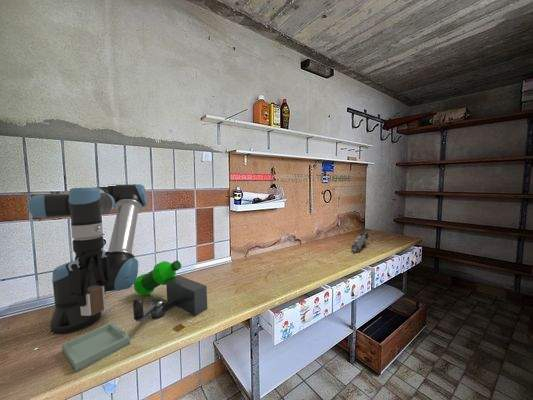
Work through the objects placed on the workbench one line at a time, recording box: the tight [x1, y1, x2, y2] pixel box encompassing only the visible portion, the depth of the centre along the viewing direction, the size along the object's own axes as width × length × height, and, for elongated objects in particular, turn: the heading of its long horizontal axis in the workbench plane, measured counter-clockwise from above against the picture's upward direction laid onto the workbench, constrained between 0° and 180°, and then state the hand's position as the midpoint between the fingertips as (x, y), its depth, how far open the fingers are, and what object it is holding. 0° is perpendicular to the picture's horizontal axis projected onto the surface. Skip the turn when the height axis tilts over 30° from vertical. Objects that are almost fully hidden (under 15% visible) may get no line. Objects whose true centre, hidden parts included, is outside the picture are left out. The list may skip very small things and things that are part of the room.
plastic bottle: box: [133, 260, 182, 296], centre depth 107 cm, size 10×10×25 cm
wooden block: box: [87, 285, 105, 316], centre depth 72 cm, size 4×4×8 cm
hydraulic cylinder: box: [351, 231, 371, 253], centre depth 178 cm, size 7×37×10 cm, turn 144°
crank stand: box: [150, 275, 208, 332], centre depth 93 cm, size 23×16×10 cm
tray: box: [61, 321, 131, 373], centre depth 73 cm, size 14×14×2 cm
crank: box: [132, 297, 165, 322], centre depth 86 cm, size 15×5×7 cm, turn 174°
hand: (93, 309), depth 73 cm, fingers closed on wooden block, 5 cm apart
